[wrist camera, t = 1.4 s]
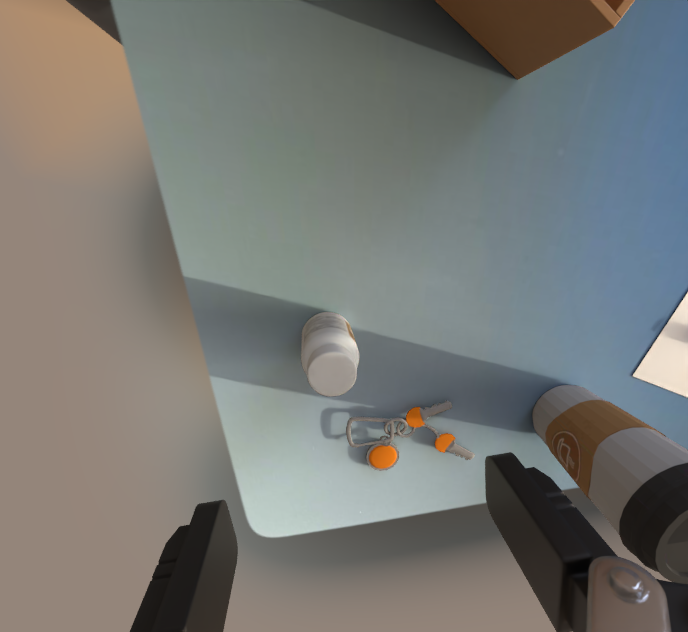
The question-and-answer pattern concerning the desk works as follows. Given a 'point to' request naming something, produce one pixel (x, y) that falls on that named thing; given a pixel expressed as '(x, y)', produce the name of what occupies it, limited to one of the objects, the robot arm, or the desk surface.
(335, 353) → the pill bottle
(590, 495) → the coffee cup
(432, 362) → the desk surface
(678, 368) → the white square mat
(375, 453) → the key chain
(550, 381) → the desk surface
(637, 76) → the desk surface
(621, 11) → the carton
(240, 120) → the desk surface
